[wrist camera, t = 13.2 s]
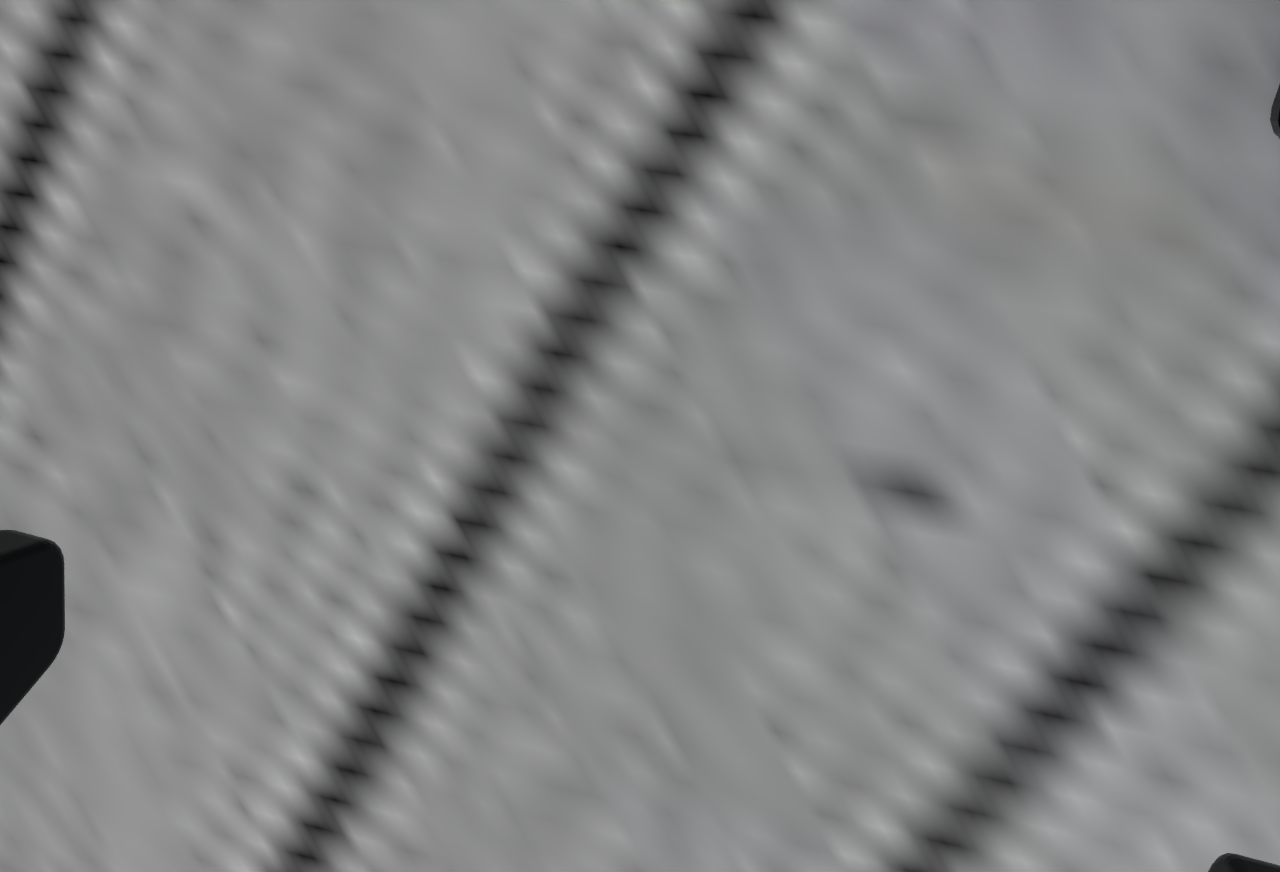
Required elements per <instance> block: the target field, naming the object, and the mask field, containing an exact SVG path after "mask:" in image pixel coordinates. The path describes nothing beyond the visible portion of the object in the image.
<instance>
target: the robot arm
mask: <svg viewBox="0 0 1280 872" xmlns="http://www.w3.org/2000/svg"><path fill="white" fill-rule="evenodd" d="M1270 121H1271V124H1272V128H1273V131H1274V133H1275V134H1276V135H1277V136H1278V137H1279V138H1280V85H1279V88H1278V91H1277V94H1276V97H1275V100H1274V102H1273V105H1272V110H1271V118H1270ZM64 631H65V599H64V557H63V554H62V551H61V549H60V548H59V546H58V545H57V544H56V543H55V542H53V541H51V540H48V539H45V538H41V537H38V536H34V535H30V534H26V533H22V532H19V531H15V530H0V725H1V724H2V723H3V721H4V720H5V719H6V718H7V717H8V715H9V714H10V713H11V712H12V711H13V709H14V708H15V707H16V706H17V705H18V703H19V702H20V701H21V700H22V699H23V697H24V696H25V695H26V694H27V693H28V692H29V690H30V689H31V688H32V687H33V686H34V684H35V683H36V682H37V681H38V680H39V678H40V677H41V676H42V675H43V674H44V672H45V671H46V670H47V669H48V668H49V666H50V665H51V664H52V662H53V661H54V660H55V658H56V656H57V654H58V653H59V650H60V648H61V645H62V642H63V638H64ZM1209 872H1280V866H1279V865H1276V864H1272V863H1268V862H1264V861H1260V860H1256V859H1253V858H1249V857H1245V856H1241V855H1237V854H1232V853H1227V854H1224V855H1222V856H1220V857H1218V858H1217V859H1216V861H1215V862H1214V863H1213V864H1212V866H1211V868H1210V870H1209Z"/></svg>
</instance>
